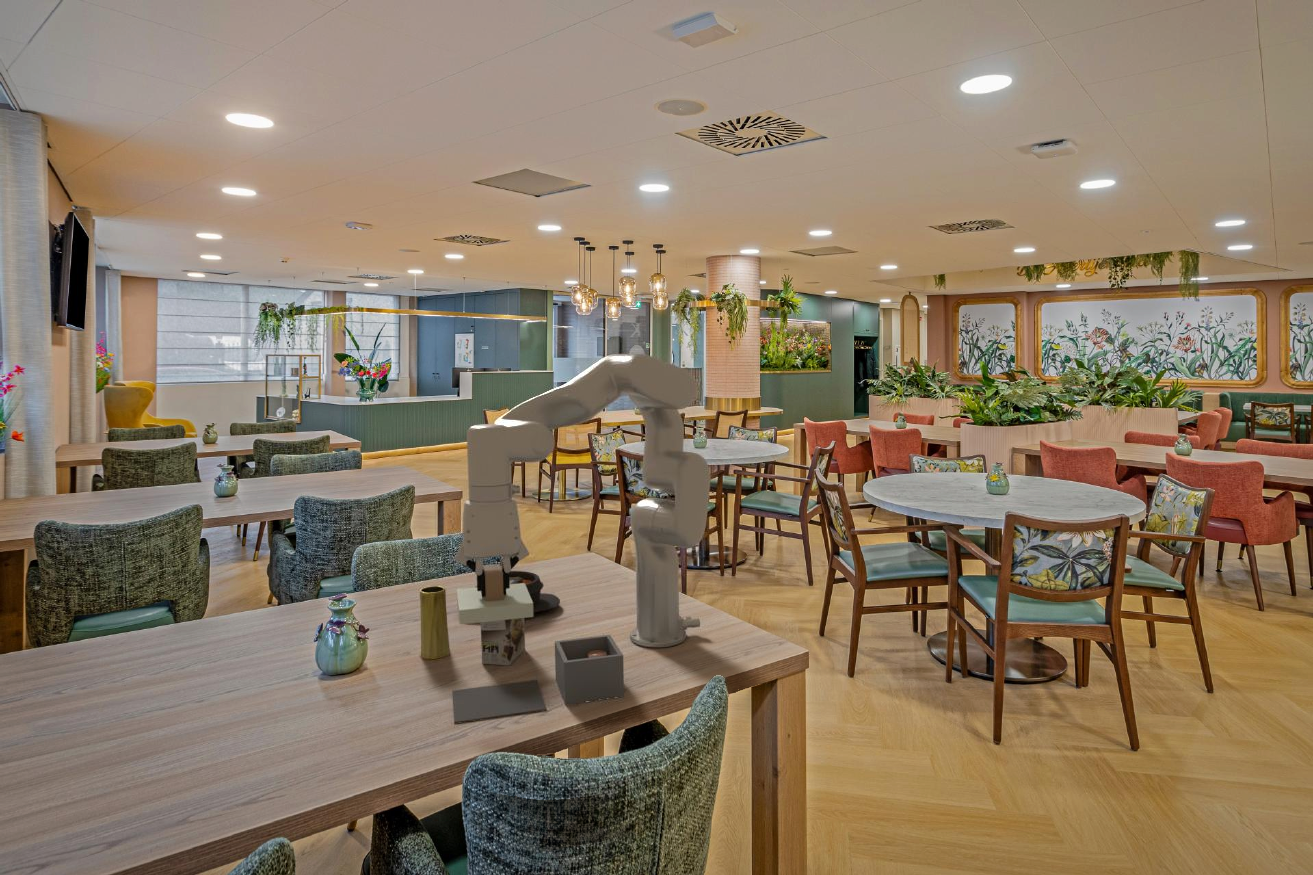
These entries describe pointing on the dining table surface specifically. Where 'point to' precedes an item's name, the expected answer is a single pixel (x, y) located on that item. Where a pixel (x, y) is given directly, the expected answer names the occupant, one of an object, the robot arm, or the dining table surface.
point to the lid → (494, 600)
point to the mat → (497, 701)
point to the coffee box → (503, 638)
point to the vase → (434, 623)
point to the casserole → (536, 591)
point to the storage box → (589, 669)
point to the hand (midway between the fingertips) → (493, 592)
